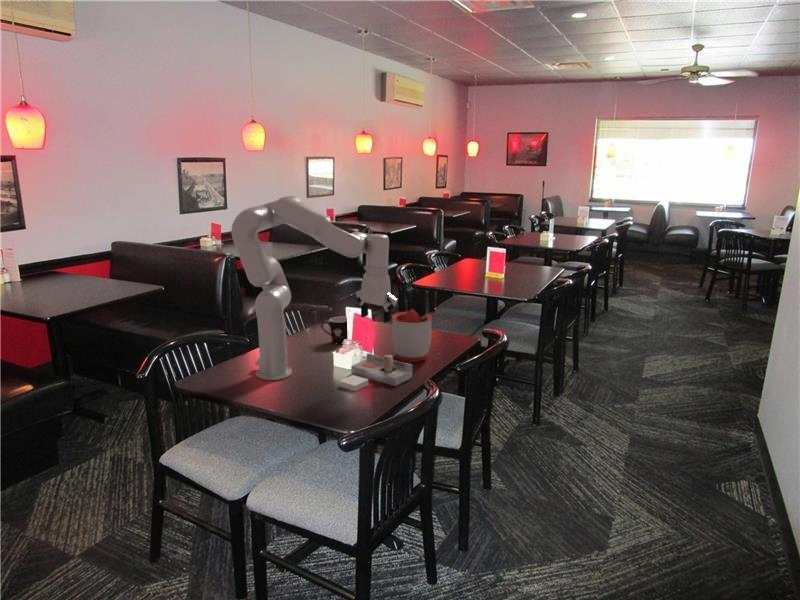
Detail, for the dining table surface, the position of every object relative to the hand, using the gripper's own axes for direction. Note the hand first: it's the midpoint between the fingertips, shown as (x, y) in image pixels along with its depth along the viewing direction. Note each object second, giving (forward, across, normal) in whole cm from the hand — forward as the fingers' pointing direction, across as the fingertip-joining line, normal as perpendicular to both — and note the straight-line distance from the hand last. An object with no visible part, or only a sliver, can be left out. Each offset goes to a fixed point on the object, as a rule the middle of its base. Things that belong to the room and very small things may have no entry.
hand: (375, 319), depth 194 cm
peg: (+22, +4, +4) cm, 22 cm away
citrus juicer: (+22, -1, +27) cm, 34 cm away
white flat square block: (+22, -1, -9) cm, 24 cm away
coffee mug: (+23, -38, +24) cm, 50 cm away
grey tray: (+22, +1, +4) cm, 22 cm away
